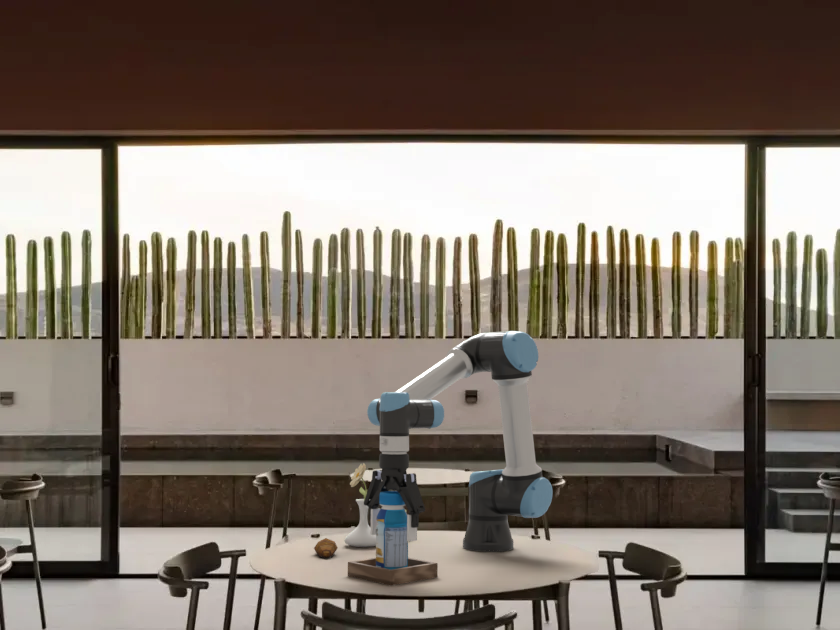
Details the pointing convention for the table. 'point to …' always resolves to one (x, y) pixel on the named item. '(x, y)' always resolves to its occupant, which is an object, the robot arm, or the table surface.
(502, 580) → the table surface
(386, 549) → the beverage bottle
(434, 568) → the walnut tray
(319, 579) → the table surface
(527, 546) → the table surface
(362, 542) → the flower in vase
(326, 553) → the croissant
